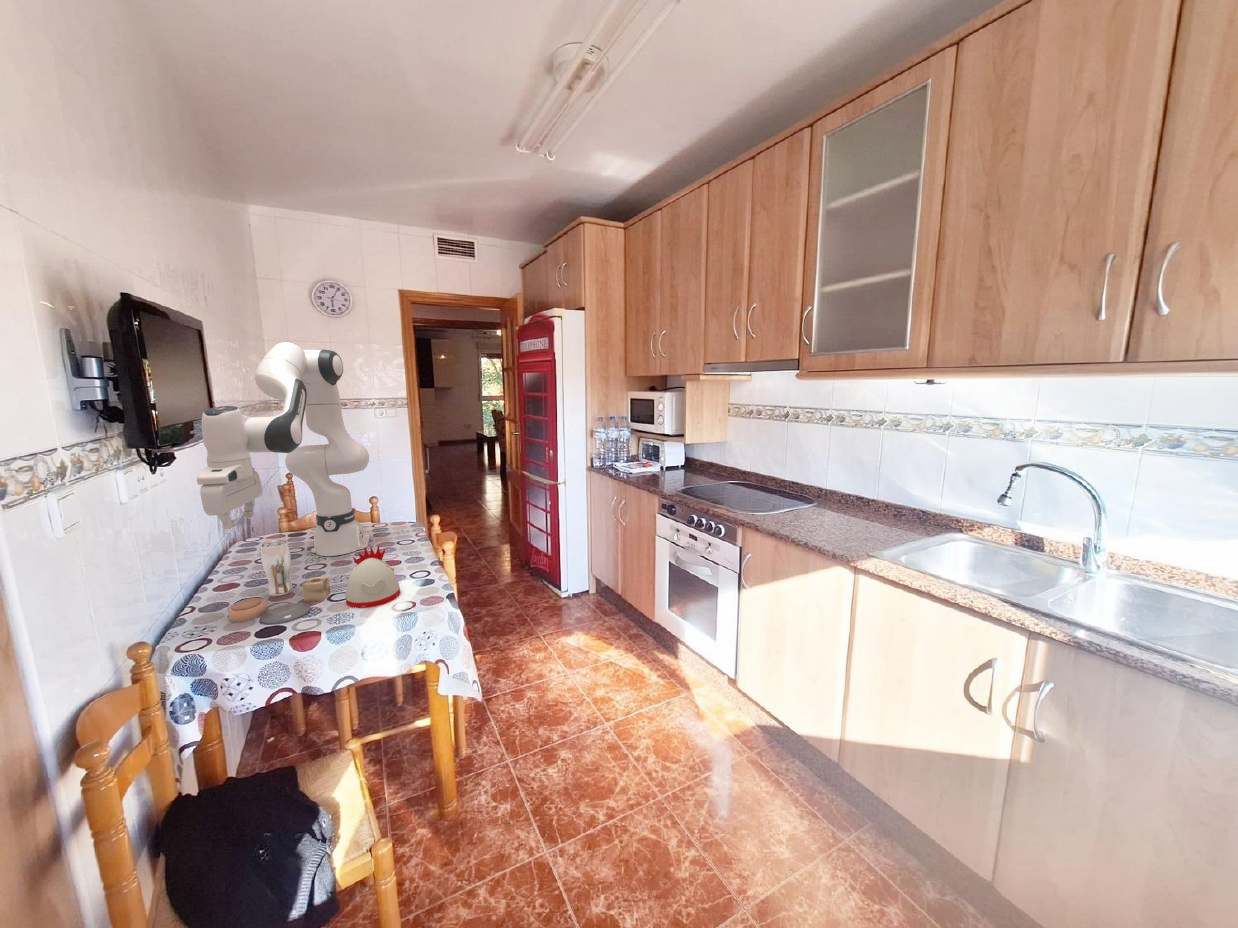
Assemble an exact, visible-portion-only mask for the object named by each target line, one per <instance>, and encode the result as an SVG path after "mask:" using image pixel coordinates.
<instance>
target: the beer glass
mask: <svg viewBox="0 0 1238 928" xmlns="http://www.w3.org/2000/svg"><path fill="white" fill-rule="evenodd" d="M291 558H292V557H291V550H290V546H289V541H288V540H287V539H274V540H270V541H265V542H263V543H261V544H260V559H261V564H262V568H263V571H264V573H265V576H266V578H267V582H268V594H267V595H268V596H269V597H281V596H285V595H289V594H290V593H291V592H293V591H294V586H293V583H292V581H291V569H292V567H291V566H292V563H291V562H292V559H291Z"/></svg>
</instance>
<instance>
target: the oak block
mask: <svg viewBox="0 0 1238 928" xmlns="http://www.w3.org/2000/svg"><path fill="white" fill-rule="evenodd" d="M302 592H303V593H302V594H303V600H304V602H311V601H312V602H314V601H323V600H325V599H326V598H327V597H328V596H329V594H331V585H330V577H329V576H317V577H309V578H308V579H307V580H306V581H305V582H304V583H302Z"/></svg>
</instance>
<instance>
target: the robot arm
mask: <svg viewBox="0 0 1238 928" xmlns="http://www.w3.org/2000/svg"><path fill="white" fill-rule="evenodd" d="M343 374H344V363H343V360H342V358H341V356H340V355H339V354H338V353H337V352H336V351H334V350H332V349H331V350H330V349H302V347H301V346H299V345H297V344H295V343H293V342H289V341H283V342H279V343H276V344H275V345H274V346H272V348H270V349H269V351H268V352H267V353H266V354H265V355H264V356H263V358H262V360H261V361H260V363H259V364H258V365H257V368H256V370H255V372H254V381H255V383H256V386H257V387H258V388H259V389H260V391H261V392H262V393H264V394H266V396H268V397H270V398H272V399H274V400H279V401H283V402H284V404H283V407H282V411H281V413H279V414H277V415H272V416H248V415H245V414H243V413H242V411H241V409H240V408H239V407H238V406H234V405H224V406H223V405H222V406H221V405H220V406H215V407H211V408H208V409H206V410H204V411H203V412H202V415H201V435H202V440H203V446H204V447H205V449H206V455H207V456H206V464H207V466H206V467H205V468H204V469H203V470H202V471H201V472H200V473H199V474H198V475H197V476H196V483H197V485H199V486H200V485H201V486H200V489H199V493H200V499H201V504H202V508H203V511H204V513H205V515H207V516H217V517H218V519H219V520H220V522H221V523H222V527H223V529H224V530H226V529H227V530H229V529H233V528H234V527H235V521H234V519H232V518H231V515H232V514H231V512H232V511H233V510H235V509H238V508H240V507H242V506H244V511H243V513H242V514H243V518H245V519H250V518H252V517H254V516H255V512H254V509H255V504H256V501H255V500H256V499H258V498H261V497H262V495H263V492H264V491H263V486H262V482H261V478H260V475H259V473H258V472H257V471H256V470H255V467H253V464H252V457H251V454H250V453H279V454H286V456H285V462H284V463H285V467H286V469H287V471H288V472H289V473H290V474H291V475H293V476H294V477H296V478H298V479H300V480H302V481H303V482H304V483H305V485H307V486H308V487H309V490H310V491H311V493H312V495H313V499H314V504H315V509H316V515H315V521H316V525H317V526H316V528H314V529H313V543H314V546H313V547H312V548H311V549H310V553H312V554H316V555H318V556H321V557H334V556H340V555H346V554H351V553H353V552H356V551H358V550H364V548H365V547H366V549H367V548H368V545H369V543H370V539H371V535H370V534H368V533H367V534H366V533H364V529H363V525H362V523H360V522H359V521H358V520H356V516H355V515H356V508H355V507H352V497H351V496H352V495H351V492H350V489H349V488H348V487H346V486H345V485H343V484H340V483H336V482H335V481H333V480H332V479H331V478H330V476H335V475H349V474H355V473H358V472H362V471H364V470H365V469H366V468H367V466H368V465H369V463H370V455H369V451H368V449H366V447H365V446H364V445H362V444H361V443H359V442H358V441H356V440H355V439H354V438H353V437H351V435H350V434H349V432H348V431H347V428H346V426H345V423H344V420H343V419H344V417H343V413H342V412H343V411H342V405H341V402H342V401H341V396H340V390H339V388H338V385H337V383H338V381H340V379H341V377H342V376H343ZM304 416H305V418H304ZM304 419H305V422H306V426H307V428H308V430H310V431H311V432H313V433H315V434H317V435H320V436H323V437H325V438H326V439H327V441H328V443H325V444H313V445H312V444H311V445H309V444H308V445H303V446H300V445H301V443H302V441H303V423H304Z"/></svg>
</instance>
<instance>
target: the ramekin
mask: <svg viewBox="0 0 1238 928" xmlns="http://www.w3.org/2000/svg"><path fill="white" fill-rule="evenodd" d="M266 605H267V604H266V600H265V599H264V598H260V597H251V598H244V599H241V600H239V601H237V602H235V603H233V604H231V605H230V606H229V607H227V614H228V621H229V622H231V623H243V622H248V621H252V620H254V619H257V618H261V616H262V615H263V614H264V613H265V612H267V611H268V610H267V606H266Z"/></svg>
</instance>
